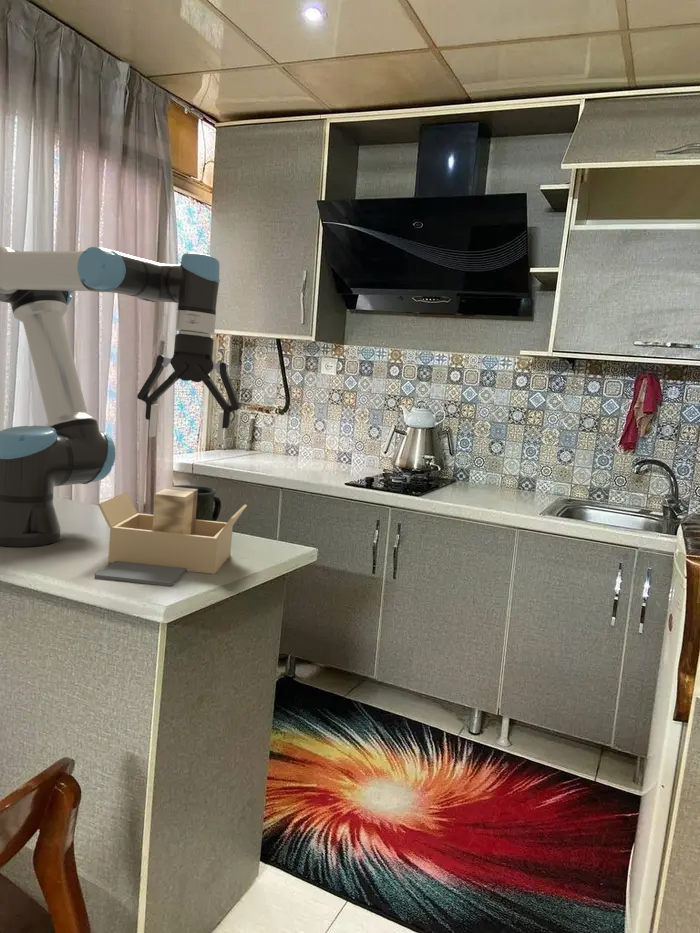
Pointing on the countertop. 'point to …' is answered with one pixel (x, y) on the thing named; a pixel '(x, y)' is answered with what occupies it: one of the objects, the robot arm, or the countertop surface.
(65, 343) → the robot arm
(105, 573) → the mat
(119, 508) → the carton
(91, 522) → the countertop surface
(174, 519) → the block
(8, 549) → the countertop surface
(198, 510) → the mug
